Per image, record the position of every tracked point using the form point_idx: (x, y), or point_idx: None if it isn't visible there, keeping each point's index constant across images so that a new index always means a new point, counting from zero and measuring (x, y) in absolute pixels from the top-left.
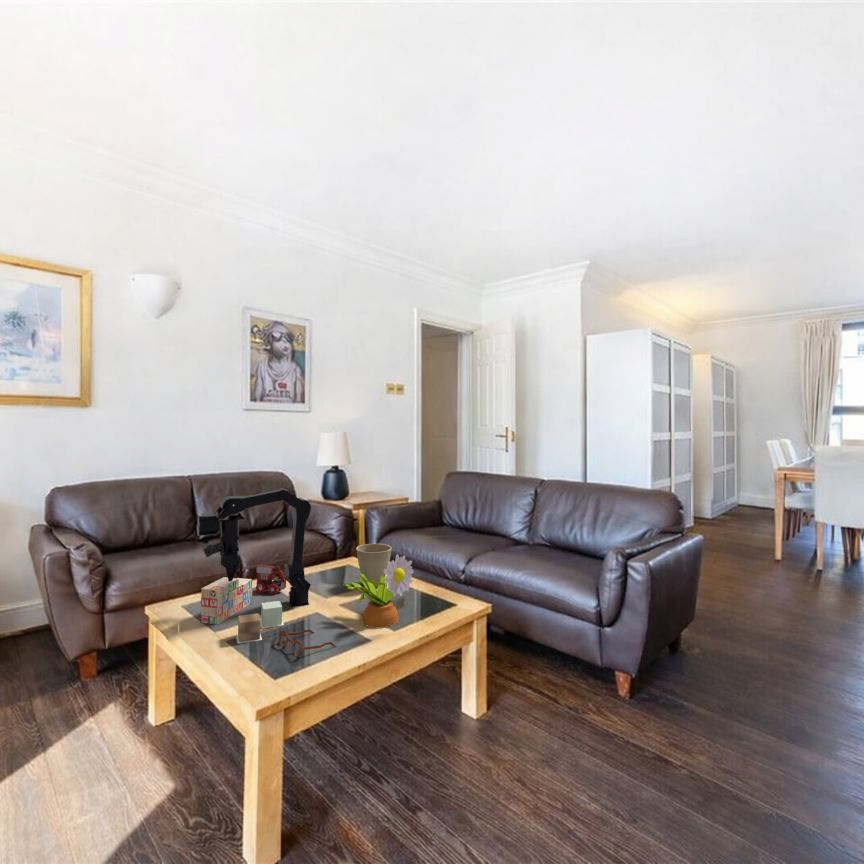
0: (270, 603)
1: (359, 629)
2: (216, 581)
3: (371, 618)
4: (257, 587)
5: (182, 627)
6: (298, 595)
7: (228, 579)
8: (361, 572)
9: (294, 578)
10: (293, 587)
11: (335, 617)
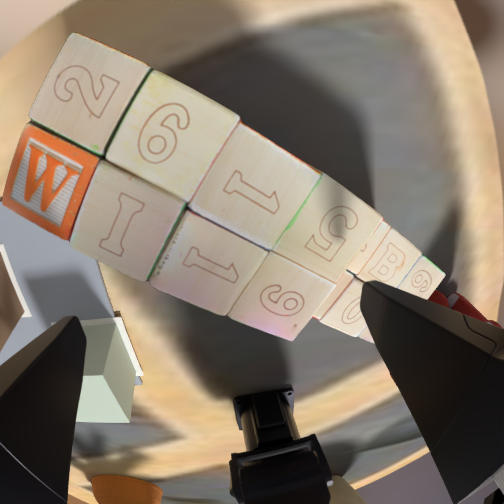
0: (99, 399)
1: (79, 466)
2: (267, 154)
3: (96, 490)
4: (435, 300)
5: (120, 4)
6: (245, 438)
7: (51, 328)
8: (332, 500)
9: (235, 493)
10: (274, 446)
11: (141, 456)
